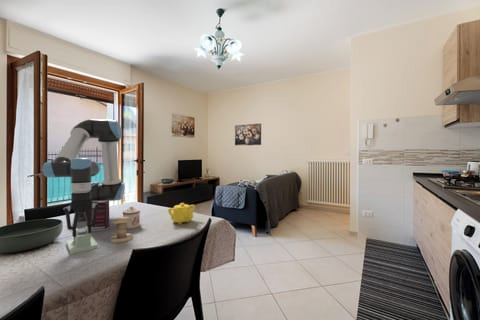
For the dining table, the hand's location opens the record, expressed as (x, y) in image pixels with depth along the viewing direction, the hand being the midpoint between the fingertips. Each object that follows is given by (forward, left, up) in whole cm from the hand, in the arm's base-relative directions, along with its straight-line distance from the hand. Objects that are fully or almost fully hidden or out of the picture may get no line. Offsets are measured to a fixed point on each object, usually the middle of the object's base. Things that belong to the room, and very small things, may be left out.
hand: (81, 242), depth 103 cm
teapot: (0, +52, -2) cm, 52 cm away
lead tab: (0, 0, 0) cm, 0 cm away
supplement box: (-20, +11, -2) cm, 23 cm away
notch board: (0, 0, -2) cm, 2 cm away
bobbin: (+3, +16, -2) cm, 16 cm away
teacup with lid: (-15, +27, -2) cm, 31 cm away
